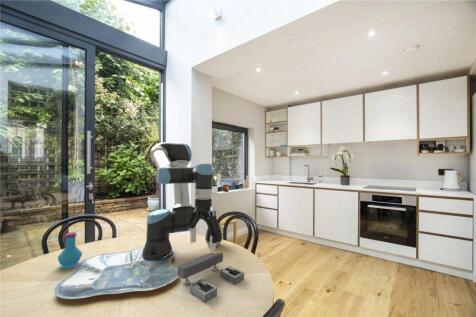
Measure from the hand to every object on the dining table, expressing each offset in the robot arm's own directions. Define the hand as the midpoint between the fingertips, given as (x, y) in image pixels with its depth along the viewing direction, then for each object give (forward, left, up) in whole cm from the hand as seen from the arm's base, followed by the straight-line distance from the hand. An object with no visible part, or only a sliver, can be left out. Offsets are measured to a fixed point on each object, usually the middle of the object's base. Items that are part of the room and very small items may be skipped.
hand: (202, 246), depth 97 cm
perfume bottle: (-53, -37, -14) cm, 66 cm away
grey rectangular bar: (0, 0, -13) cm, 13 cm away
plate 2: (+11, +8, -13) cm, 19 cm away
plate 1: (+11, -8, -13) cm, 19 cm away
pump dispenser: (-23, +28, -14) cm, 39 cm away
